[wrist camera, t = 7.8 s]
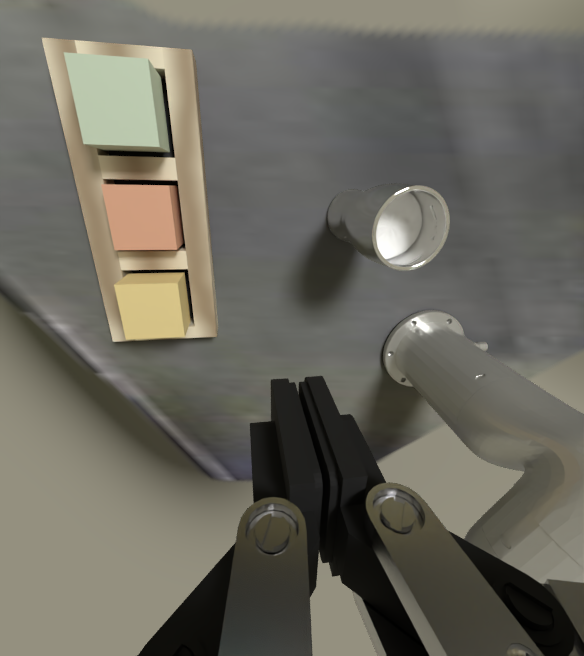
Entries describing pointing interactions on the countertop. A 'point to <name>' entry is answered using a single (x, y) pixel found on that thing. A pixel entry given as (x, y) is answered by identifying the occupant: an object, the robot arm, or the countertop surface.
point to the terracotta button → (143, 216)
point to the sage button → (118, 102)
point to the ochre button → (153, 305)
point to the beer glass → (392, 223)
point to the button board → (104, 169)
